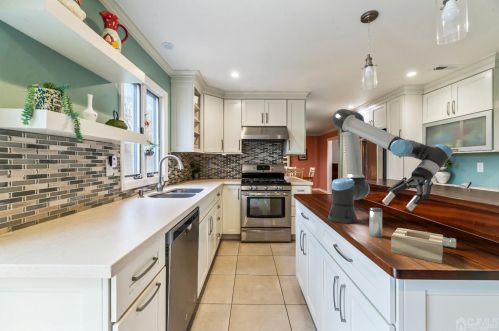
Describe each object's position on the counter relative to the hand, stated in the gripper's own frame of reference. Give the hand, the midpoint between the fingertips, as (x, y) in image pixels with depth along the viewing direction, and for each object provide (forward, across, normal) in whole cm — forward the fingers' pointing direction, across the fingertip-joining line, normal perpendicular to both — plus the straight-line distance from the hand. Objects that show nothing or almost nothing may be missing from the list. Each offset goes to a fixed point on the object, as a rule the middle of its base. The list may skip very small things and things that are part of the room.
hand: (395, 206), depth 102 cm
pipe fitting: (+4, -14, -16) cm, 21 cm away
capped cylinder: (+16, +1, -3) cm, 16 cm away
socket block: (+15, -18, -4) cm, 24 cm away
